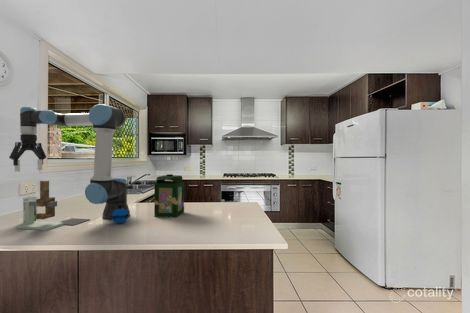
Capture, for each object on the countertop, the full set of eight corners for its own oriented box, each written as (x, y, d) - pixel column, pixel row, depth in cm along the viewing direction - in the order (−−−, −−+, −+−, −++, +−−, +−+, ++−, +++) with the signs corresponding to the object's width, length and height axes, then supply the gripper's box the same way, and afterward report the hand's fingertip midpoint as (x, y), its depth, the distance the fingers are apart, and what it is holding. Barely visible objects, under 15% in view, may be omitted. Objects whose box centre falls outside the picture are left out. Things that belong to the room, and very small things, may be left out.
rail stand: (63, 225, 139) (63, 199, 139) (47, 230, 129) (46, 203, 129) (35, 223, 142) (35, 198, 142) (16, 228, 132) (16, 202, 132)
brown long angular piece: (54, 216, 138) (54, 180, 138) (42, 219, 131) (42, 181, 131) (48, 215, 139) (48, 180, 139) (36, 219, 132) (36, 181, 132)
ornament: (121, 226, 137) (121, 207, 137) (107, 224, 140) (107, 206, 140) (132, 222, 146) (132, 204, 146) (119, 220, 148) (119, 203, 148)
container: (151, 217, 156) (151, 175, 156) (163, 211, 174) (163, 173, 174) (175, 218, 154) (175, 175, 154) (184, 211, 172) (185, 173, 172)
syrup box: (22, 224, 140) (22, 197, 140) (25, 221, 145) (25, 195, 145) (36, 223, 143) (35, 196, 143) (38, 220, 148) (38, 194, 148)
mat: (90, 220, 150) (90, 219, 150) (73, 225, 138) (73, 224, 138) (71, 218, 152) (71, 218, 152) (54, 224, 140) (54, 223, 140)
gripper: (42, 135, 165) (43, 169, 165) (0, 132, 141) (1, 172, 141) (53, 135, 164) (53, 169, 164) (11, 132, 139) (12, 172, 139)
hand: (29, 170), depth 152 cm, fingers open, 13 cm apart
